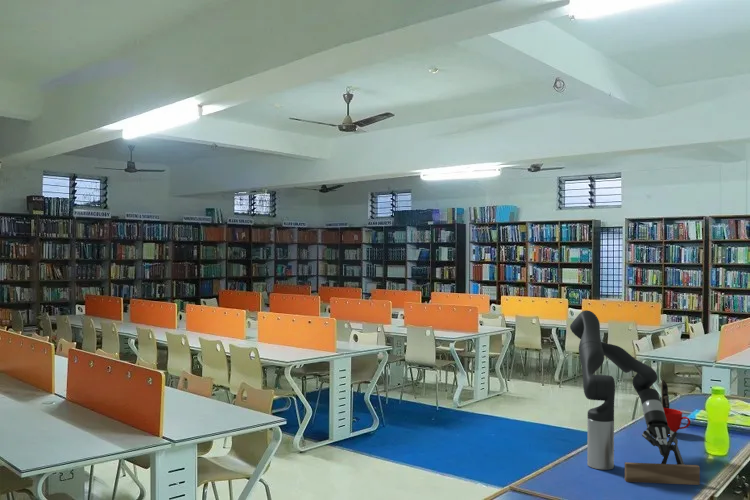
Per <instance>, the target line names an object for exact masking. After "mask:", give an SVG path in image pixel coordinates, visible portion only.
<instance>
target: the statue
mask: <svg viewBox="0 0 750 500" xmlns="http://www.w3.org/2000/svg"><path fill="white" fill-rule="evenodd" d="M660 388H661V390H660V391H661V392H660V394H661V395H660V396H661V398H660V399H661V404H662V406H663V408H669V409H670V401H669V400H670V399H669V397H670V396H669V388H668V384H667V382H666V381H665V380H664V379H661V387H660Z"/></svg>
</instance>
